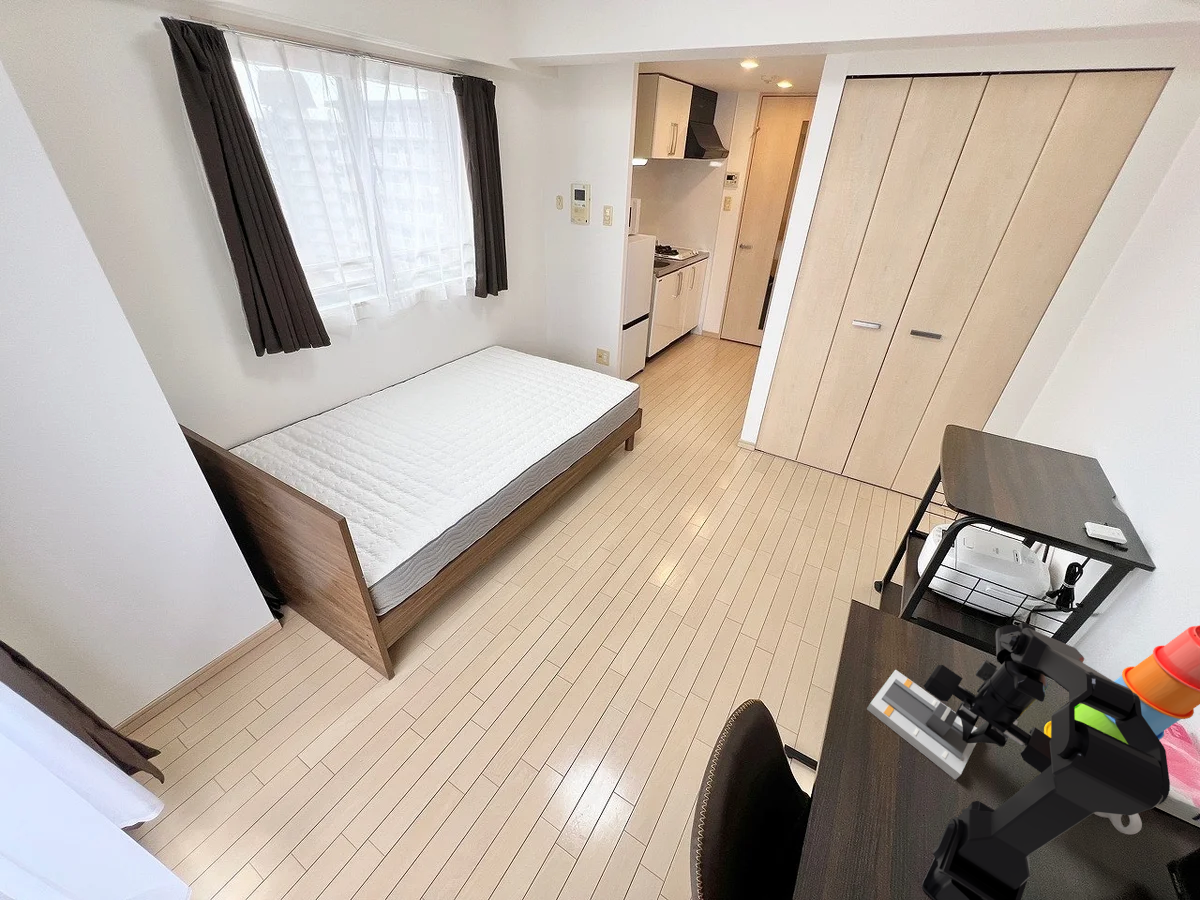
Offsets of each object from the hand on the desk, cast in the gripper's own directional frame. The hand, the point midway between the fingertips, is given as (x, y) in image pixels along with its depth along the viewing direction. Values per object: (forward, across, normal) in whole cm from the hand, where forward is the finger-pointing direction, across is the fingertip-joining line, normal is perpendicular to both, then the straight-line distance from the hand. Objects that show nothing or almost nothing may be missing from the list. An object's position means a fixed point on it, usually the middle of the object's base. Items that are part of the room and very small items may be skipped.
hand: (965, 740), depth 87 cm
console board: (+4, +6, 0) cm, 7 cm away
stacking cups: (+4, -15, -19) cm, 24 cm away
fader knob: (+1, +4, 0) cm, 4 cm away
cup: (+4, -19, -9) cm, 21 cm away
